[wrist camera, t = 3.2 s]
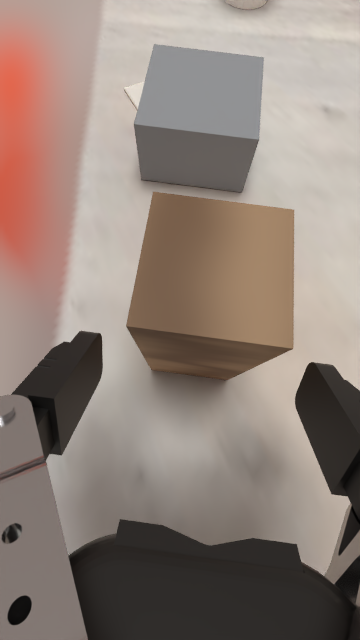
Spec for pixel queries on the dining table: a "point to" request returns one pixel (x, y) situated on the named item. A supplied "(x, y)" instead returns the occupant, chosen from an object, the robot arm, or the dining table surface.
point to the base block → (199, 117)
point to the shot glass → (246, 3)
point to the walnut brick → (213, 286)
